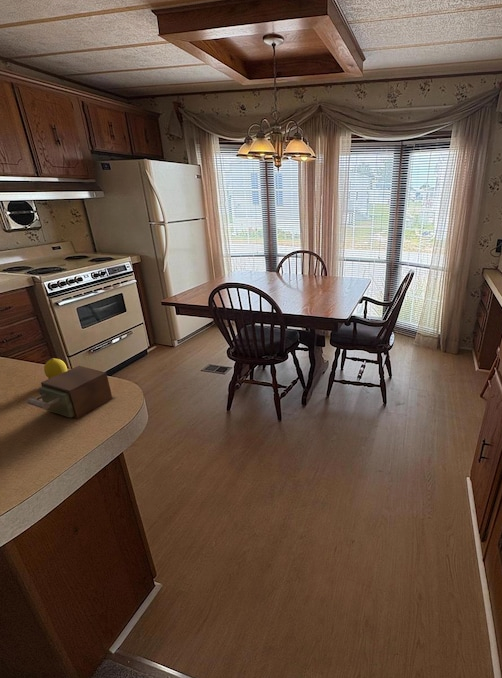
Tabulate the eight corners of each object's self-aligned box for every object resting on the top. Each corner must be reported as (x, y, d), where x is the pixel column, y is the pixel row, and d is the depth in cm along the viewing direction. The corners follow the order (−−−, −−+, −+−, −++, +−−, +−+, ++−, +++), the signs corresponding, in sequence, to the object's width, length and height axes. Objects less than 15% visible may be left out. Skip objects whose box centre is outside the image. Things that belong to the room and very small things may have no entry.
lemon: (68, 375, 111) (61, 352, 108) (71, 381, 107) (65, 358, 104) (46, 380, 107) (39, 357, 104) (49, 387, 104) (42, 364, 101)
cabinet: (77, 418, 90) (69, 390, 87) (49, 409, 93) (40, 382, 90) (112, 398, 100) (106, 372, 96) (86, 390, 103) (79, 365, 99)
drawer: (54, 427, 85) (46, 404, 83) (28, 418, 88) (20, 396, 86) (103, 399, 97) (98, 378, 95) (79, 392, 100) (73, 372, 98)
